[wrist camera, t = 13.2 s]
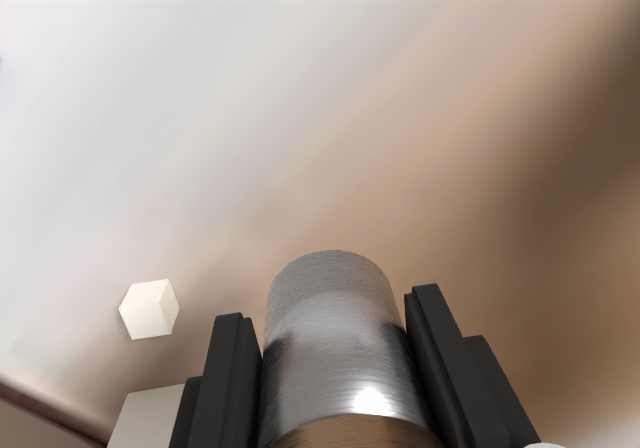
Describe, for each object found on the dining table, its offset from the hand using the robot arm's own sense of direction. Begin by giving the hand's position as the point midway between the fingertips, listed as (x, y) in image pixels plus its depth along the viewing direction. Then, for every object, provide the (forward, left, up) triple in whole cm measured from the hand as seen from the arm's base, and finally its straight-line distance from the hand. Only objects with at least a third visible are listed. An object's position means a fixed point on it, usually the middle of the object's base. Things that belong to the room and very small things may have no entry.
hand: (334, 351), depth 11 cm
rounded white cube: (+11, +9, -16) cm, 22 cm away
